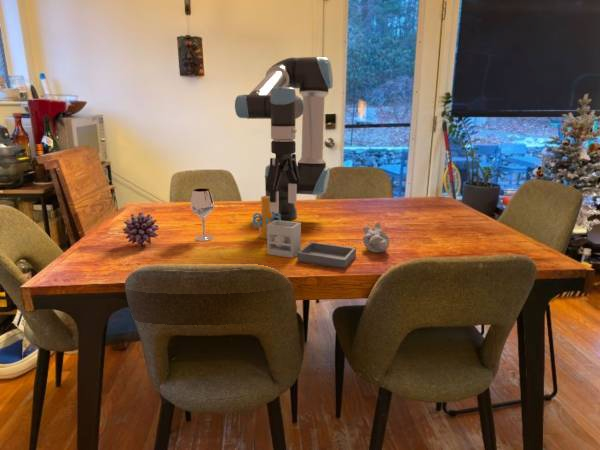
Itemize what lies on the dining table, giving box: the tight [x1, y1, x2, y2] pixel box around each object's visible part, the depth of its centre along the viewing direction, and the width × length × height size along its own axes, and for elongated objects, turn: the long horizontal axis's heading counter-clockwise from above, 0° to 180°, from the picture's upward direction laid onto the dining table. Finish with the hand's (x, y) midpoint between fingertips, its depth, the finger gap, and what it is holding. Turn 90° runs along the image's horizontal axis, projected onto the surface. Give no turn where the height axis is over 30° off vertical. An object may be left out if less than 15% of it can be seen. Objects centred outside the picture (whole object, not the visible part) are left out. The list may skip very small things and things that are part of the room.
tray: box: [296, 241, 357, 270], centre depth 136 cm, size 16×12×3 cm
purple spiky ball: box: [122, 211, 160, 247], centre depth 147 cm, size 12×12×12 cm
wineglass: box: [190, 187, 215, 242], centre depth 154 cm, size 8×8×18 cm
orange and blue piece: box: [251, 195, 281, 240], centre depth 157 cm, size 12×10×15 cm
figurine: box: [362, 221, 390, 254], centre depth 143 cm, size 8×10×12 cm
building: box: [266, 220, 302, 259], centre depth 141 cm, size 9×6×10 cm
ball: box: [273, 235, 285, 247], centre depth 142 cm, size 4×4×4 cm
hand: (283, 207), depth 138 cm, fingers open, 13 cm apart
